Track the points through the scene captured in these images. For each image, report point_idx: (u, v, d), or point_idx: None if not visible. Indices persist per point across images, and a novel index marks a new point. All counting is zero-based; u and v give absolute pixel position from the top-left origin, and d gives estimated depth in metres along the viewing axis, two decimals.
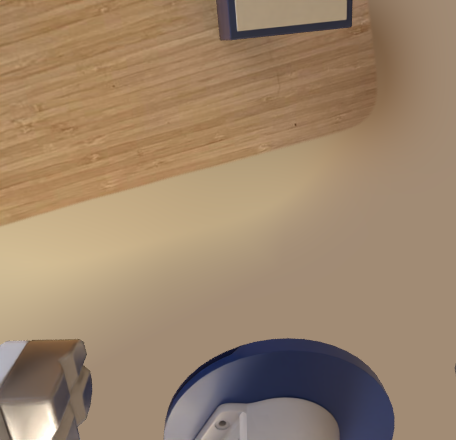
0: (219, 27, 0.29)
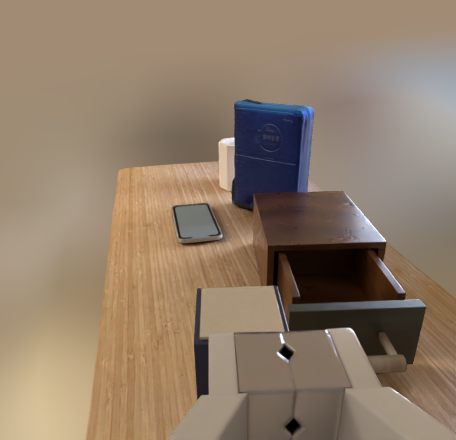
0: None
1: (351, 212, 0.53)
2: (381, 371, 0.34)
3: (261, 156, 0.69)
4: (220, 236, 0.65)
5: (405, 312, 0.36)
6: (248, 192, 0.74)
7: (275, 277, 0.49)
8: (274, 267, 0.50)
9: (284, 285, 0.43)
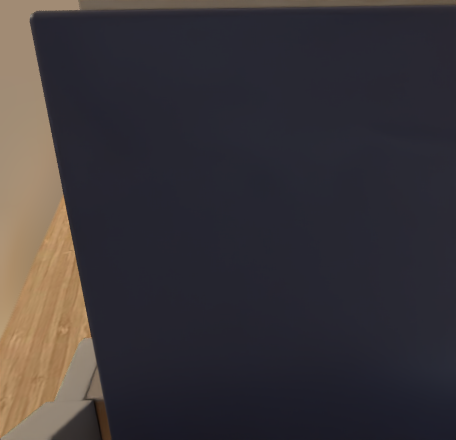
0: None
1: None
2: None
3: None
4: None
5: None
6: None
7: None
8: None
9: None
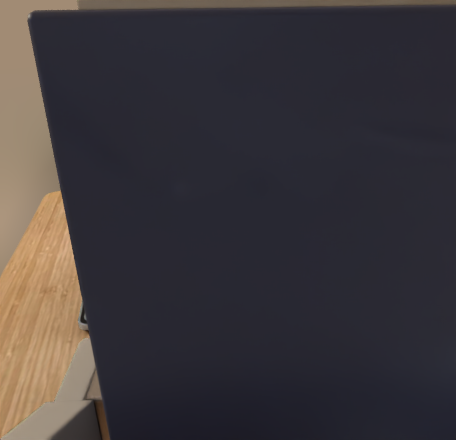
0: None
1: None
2: None
3: None
4: None
5: None
6: None
7: None
8: None
9: None
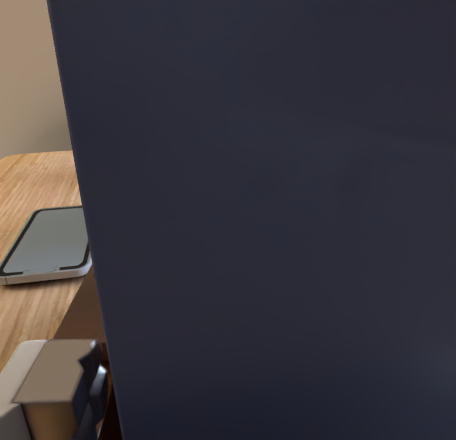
0: None
1: None
2: None
3: None
4: (83, 269, 0.32)
5: None
6: None
7: None
8: None
9: None
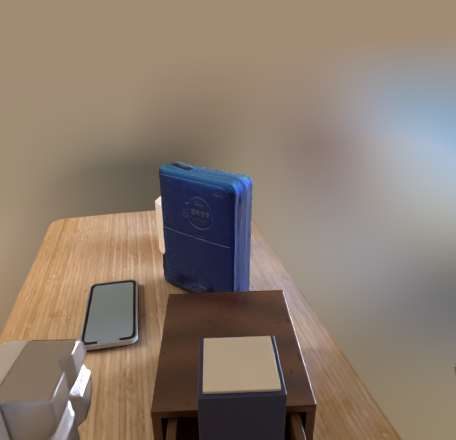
0: None
1: (283, 335, 0.41)
2: None
3: (191, 233, 0.57)
4: (134, 339, 0.52)
5: None
6: (180, 271, 0.61)
7: None
8: None
9: None
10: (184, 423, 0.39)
